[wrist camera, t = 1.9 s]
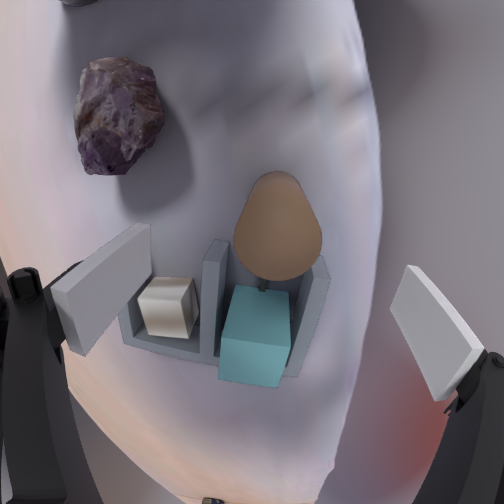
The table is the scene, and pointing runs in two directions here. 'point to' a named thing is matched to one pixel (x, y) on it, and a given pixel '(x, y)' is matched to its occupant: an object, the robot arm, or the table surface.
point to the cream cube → (169, 306)
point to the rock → (116, 114)
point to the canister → (211, 501)
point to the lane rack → (209, 331)
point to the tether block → (267, 268)
